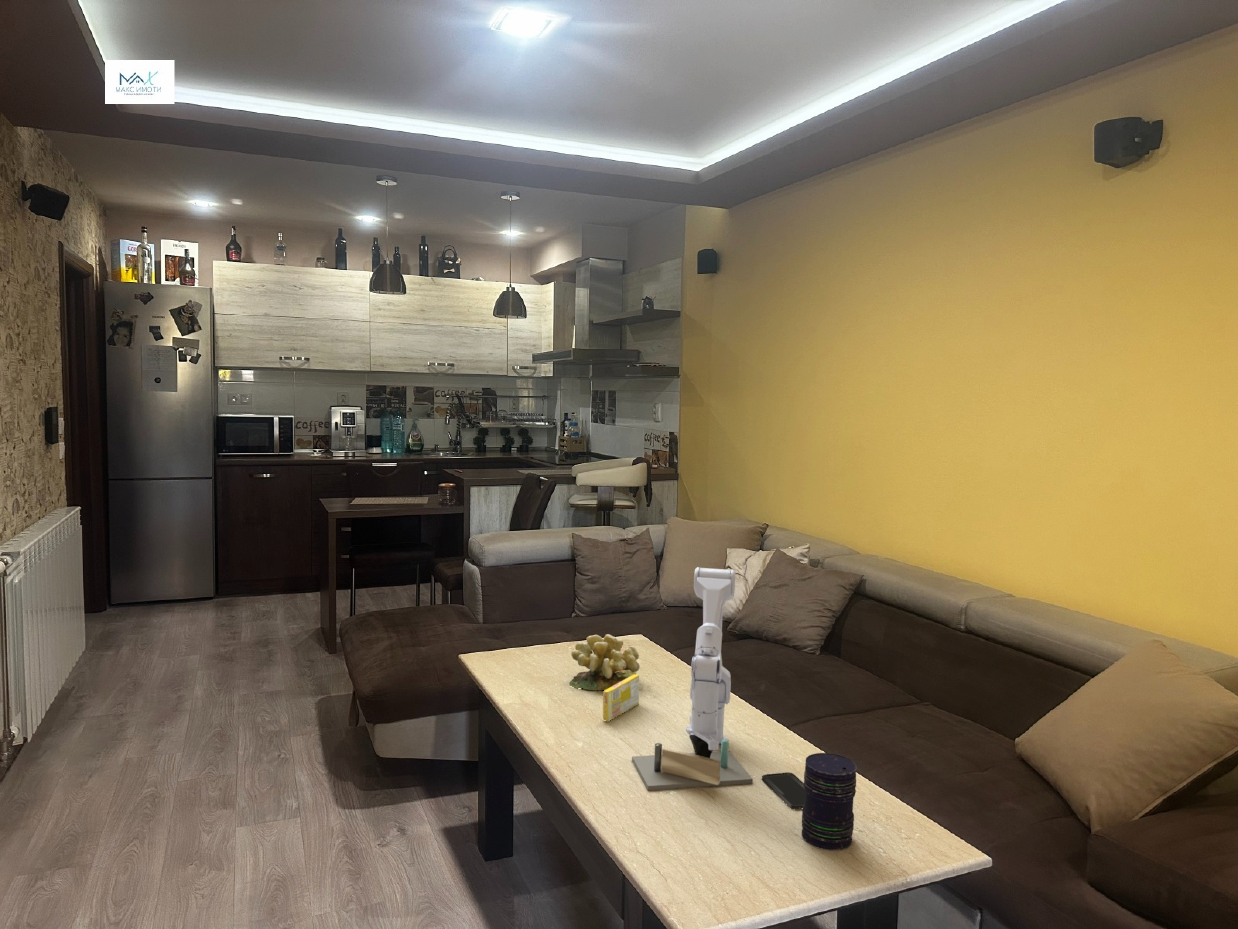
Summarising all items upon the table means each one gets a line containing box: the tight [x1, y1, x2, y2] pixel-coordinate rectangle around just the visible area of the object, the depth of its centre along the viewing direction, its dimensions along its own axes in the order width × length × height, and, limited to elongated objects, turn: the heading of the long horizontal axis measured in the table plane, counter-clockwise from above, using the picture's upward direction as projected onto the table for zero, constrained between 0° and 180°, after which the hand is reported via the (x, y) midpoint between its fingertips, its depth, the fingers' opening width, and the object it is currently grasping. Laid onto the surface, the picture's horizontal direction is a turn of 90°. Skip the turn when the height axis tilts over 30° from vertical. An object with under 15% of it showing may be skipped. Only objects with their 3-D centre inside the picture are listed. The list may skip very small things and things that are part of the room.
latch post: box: [720, 739, 729, 768], centre depth 192 cm, size 2×2×7 cm
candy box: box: [602, 674, 640, 722], centre depth 225 cm, size 16×2×8 cm, turn 149°
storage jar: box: [801, 752, 857, 852], centre depth 164 cm, size 10×10×15 cm
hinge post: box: [654, 742, 663, 772], centre depth 188 cm, size 2×2×7 cm
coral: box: [569, 634, 640, 691], centre depth 249 cm, size 19×23×15 cm
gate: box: [661, 747, 721, 785], centre depth 185 cm, size 1×13×5 cm, turn 64°
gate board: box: [631, 750, 754, 791], centre depth 191 cm, size 15×24×1 cm, turn 102°
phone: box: [761, 772, 805, 811], centre depth 183 cm, size 8×1×15 cm
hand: (702, 768), depth 186 cm, fingers closed
